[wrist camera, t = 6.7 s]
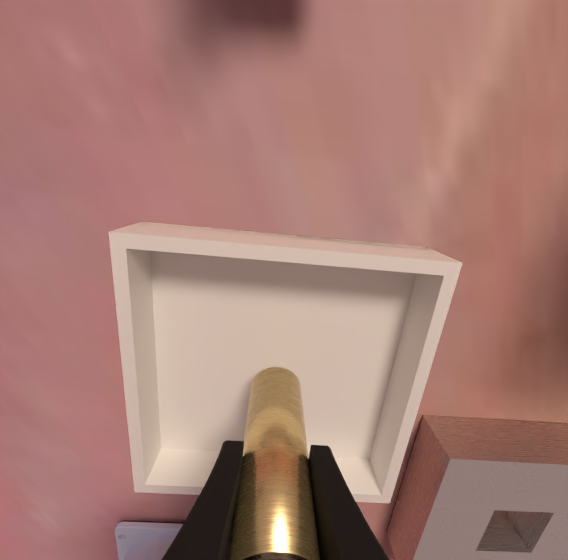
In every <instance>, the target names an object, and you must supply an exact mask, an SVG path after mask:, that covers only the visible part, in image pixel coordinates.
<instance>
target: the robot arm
mask: <svg viewBox="0 0 568 560" xmlns="http://www.w3.org/2000/svg"><path fill="white" fill-rule="evenodd" d="M243 447H244V441H231V440H226V441H225V442H223V444H222V447H221V450H220V453H219V455H218V458H217V460H216V462H215V465H214V467H213V469H212V471H211V473H210V475H209V478H208V480H207V482H206V484H205V486H204V487H203V489H202V491H201V493H200V495H199V497H198V499H197V501H196V503H195V505H194V506H193V508H192V510H191V512H190V513H189V515H188V517H187V519H186V520H185V522H184V524H178V523H152V522H126V521H123V522H119V523H118V524H117V526H116V528H115V539H116V546H117V553H118V560H228V559H229V552H230V544H231V536H232V528H233V521H234V513H235V506H236V500H237V495H238V489H239V483H240V475H241V467H242V459H243ZM309 469H310V478H311V486H312V494H313V502H314V511H315V520H316V529H317V538H318V547H319V556H320V560H389V559H388V557H387V555H386V554H385V552H384V550H383V549H382V547H381V545H380V544H379V542H378V540H377V539H376V537H375V535H374V534H373V532H372V530H371V529H370V527H369V525H368V523H367V522H366V520H365V518H364V516H363V514H362V512H361V511H360V509H359V507H358V505H357V503H356V501H355V499H354V498H353V496H352V494H351V492H350V490H349V488H348V486H347V484H346V482H345V480H344V478H343V476H342V473H341V471H340V469H339V467H338V465H337V463H336V460H335V458H334V456H333V453H332V451H331V448H330V447H329V446H325V445H311V447H310V453H309Z"/></svg>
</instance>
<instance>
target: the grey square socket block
mask: <svg viewBox="0 0 568 560" xmlns="http://www.w3.org/2000/svg"><path fill="white" fill-rule="evenodd" d="M387 535H388V539H389V542H390V545H391V548H392V551H393V555H394V558H395V560H568V424H561V423H544V422H528V421H511V420H494V419H477V418H460V417H444V416H427V415H423V417H422V420H421V423H420V427H419V430H418V433H417V436H416V440H415V443H414V446H413V449H412V452H411V456H410V459H409V462H408V465H407V468H406V472H405V475H404V478H403V481H402V485H401V488H400V491H399V494H398V497H397V501H396V504H395V507H394V510H393V513H392V517H391V520H390V523H389V526H388V530H387Z"/></svg>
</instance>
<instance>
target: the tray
mask: <svg viewBox="0 0 568 560" xmlns="http://www.w3.org/2000/svg"><path fill="white" fill-rule="evenodd" d="M109 240H110V250H111V260H112V270H113V281H114V291H115V301H116V311H117V321H118V331H119V341H120V351H121V361H122V371H123V381H124V391H125V401H126V411H127V421H128V431H129V441H130V451H131V461H132V471H133V481H134V492H141V493H164V494H188V495H200V493H201V491H202V489H203V487H204V486H205V484H206V482H207V480H208V478H209V475H210V473H211V471H212V469H213V467H214V465H215V462H216V460H217V458H218V455H219V453H220V450H221V447H222V444H223V442H225V441H226V440H231V441H244V436H245V428H246V420H247V412H248V405H249V397H250V389H251V383H252V380H253V378H254V377H255V376H256V375H257V374H258V373H259V372H260V371H262V370H264V369H266V368H270V367H282V368H286V369H288V370H290V371H291V372H293V373H294V374H295V375H296V376H297V378H298V379H299V382H300V387H301V396H302V405H303V414H304V423H305V431H306V440H307V449H308V458H309V453H310V447H311V445H325V446H329V447H330V448H331V451H332V453H333V456H334V458H335V460H336V463H337V465H338V467H339V469H340V471H341V473H342V476H343V478H344V480H345V482H346V484H347V486H348V488H349V490H350V492H351V494H352V496H353V498H354V499H355V501H356V502H373V503H390V501H391V498H392V495H393V491H394V488H395V485H396V481H397V478H398V475H399V471H400V468H401V465H402V461H403V458H404V455H405V451H406V448H407V445H408V442H409V438H410V435H411V432H412V428H413V425H414V422H415V418H416V415H417V412H418V408H419V405H420V402H421V398H422V395H423V392H424V389H425V385H426V382H427V379H428V375H429V372H430V369H431V365H432V362H433V359H434V355H435V352H436V349H437V346H438V342H439V339H440V336H441V332H442V329H443V326H444V322H445V319H446V316H447V312H448V309H449V306H450V302H451V299H452V296H453V293H454V289H455V286H456V283H457V279H458V276H459V273H460V269H461V266H462V262H459V261H457V260H455V259H452V258H450V257H448V256H446V255H443V254H441V253H439V252H437V251H434V250H432V249H430V248H427V247H420V246H409V245H398V244H387V243H376V242H365V241H354V240H343V239H332V238H321V237H310V236H299V235H287V234H276V233H265V232H254V231H243V230H232V229H221V228H210V227H199V226H188V225H177V224H166V223H155V222H144V221H143V222H140V223H136V224H133V225H130V226H126V227H123V228H119V229H116V230H113V231H109Z"/></svg>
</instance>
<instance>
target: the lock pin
mask: <svg viewBox="0 0 568 560" xmlns="http://www.w3.org/2000/svg"><path fill="white" fill-rule="evenodd" d="M228 560H320V556H319V547H318V538H317V529H316V520H315V511H314V502H313V494H312V486H311V478H310V469H309V458H308V449H307V440H306V431H305V423H304V414H303V405H302V396H301V387H300V382H299V379H298V378H297V376H296V375H295V374H294V373H293V372H291V371H290V370H288V369H286V368H282V367H270V368H266V369H264V370H262V371H260V372H259V373H258V374H257V375H256V376H255V377H254V378H253V380H252V383H251V389H250V397H249V405H248V412H247V420H246V428H245V436H244V447H243V459H242V467H241V475H240V483H239V489H238V495H237V500H236V506H235V513H234V521H233V528H232V536H231V544H230V552H229V559H228Z"/></svg>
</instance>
